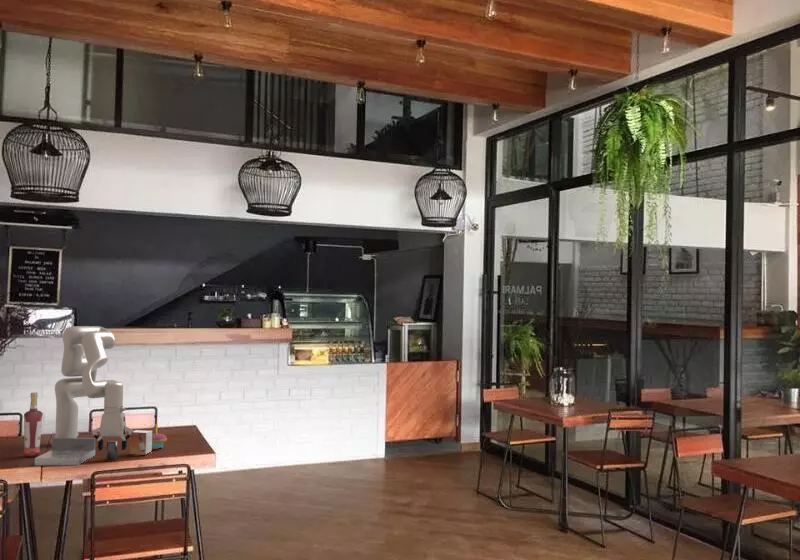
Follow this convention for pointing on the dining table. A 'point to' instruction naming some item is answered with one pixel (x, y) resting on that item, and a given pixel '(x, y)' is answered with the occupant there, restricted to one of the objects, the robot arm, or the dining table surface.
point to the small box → (140, 442)
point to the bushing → (111, 450)
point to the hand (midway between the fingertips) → (112, 449)
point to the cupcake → (158, 439)
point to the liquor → (32, 429)
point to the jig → (68, 451)
